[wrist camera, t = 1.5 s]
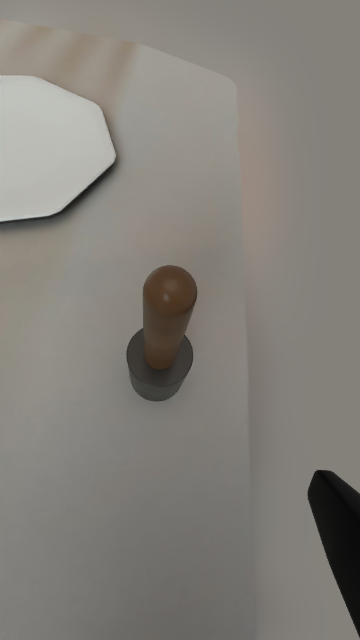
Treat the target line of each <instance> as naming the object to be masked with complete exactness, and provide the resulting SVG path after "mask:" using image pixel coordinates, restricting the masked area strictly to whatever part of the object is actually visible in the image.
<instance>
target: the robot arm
mask: <svg viewBox="0 0 360 640" xmlns="http://www.w3.org/2000/svg"><path fill="white" fill-rule="evenodd" d="M308 500H309V503H310V506H311V509H312V513H313V516H314V519H315V522H316V525H317V528H318V531H319V534H320V537H321V540H322V544H323V546H324V550H325V553H326V556H327V559H328V561H329V564H330V567H331V569H332V572H333V575H334V577H335V579H336V581H337V584H338V587H339V589H340V591H341V594H342V596H343V599H344V601H345V604H346V606H347V608H348V611H349V613H350V616H351V618H352V620H353V623H354V625H355V628H356V630H357V633H358V635H359V637H360V493H358V492H357V491H356V490H354V489H353V488H352V487H351V486H350V485H348V484H347V483H346V482H345V481H343V480H342V479H341V478H340V477H338V476H337V475H336V474H335V473H333V472H332V471H327V470H317V471H316V472H315V473H314V475H313V478H312V480H311V483H310V486H309V489H308Z"/></svg>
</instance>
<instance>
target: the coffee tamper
mask: <svg viewBox="0 0 360 640" xmlns="http://www.w3.org/2000/svg"><path fill="white" fill-rule="evenodd" d="M196 299H197V286H196V283H195V281H194V279H193V277H192V276H191V275H190V274H189V273H188V272H187V271H186V270H184V269H183V268H181V267H178V266H173V265H167V266H162V267H159V268H157V269H155V270H154V271H153V272H152V273H151V274H150V275H149V276H148V277H147V279H146V281H145V284H144V287H143V328H142V329H141V330H139V331H138V332H137V333H136V334H135V335H134V336H133V337H132V339H131V340H130V342H129V345H128V348H127V363H128V368H129V373H130V378H131V383H132V386H133V388H134V389H135V391H136V392H137V393H138V394H139V395H140V396H141V397H143V398H145V399H147V400H150V401H163V400H166V399H168V398H170V397H172V396H173V395H174V394H175V393H176V392H177V391H178V390H179V388H180V386H181V384H182V383H183V381H184V379H185V377H186V375H187V374H188V372H189V370H190V368H191V365H192V361H193V350H192V346H191V344H190V342H189V340H188V338H187V337H186V336H185V332H186V329H187V326H188V323H189V320H190V317H191V314H192V311H193V308H194V305H195V302H196Z"/></svg>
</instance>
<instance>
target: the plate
mask: <svg viewBox="0 0 360 640" xmlns="http://www.w3.org/2000/svg"><path fill="white" fill-rule="evenodd" d="M115 160H116V154H115V150H114V147H113V144H112V141H111V137H110V134H109V131H108V128H107V124H106V121H105V118H104V115H103V111H102V109H101V108H100V107H99V106H98V105H97V104H95V103H93V102H91V101H89V100H87V99H84V98H82V97H80V96H78V95H75V94H73V93H71V92H69V91H67V90H64V89H62V88H60V87H58V86H56V85H53V84H51V83H49V82H47V81H44V80H42V79H40V78H38V77H33V76H0V223H8V222H17V221H25V220H33V219H41V218H49V217H52V216H54V215H57V214H59V213H61V212H62V211H63V210H64V209H66V208H67V207H68V206H69V205H70V204H71V203H72V202H73V201H74V200H75V199H76V198H78V197H79V196H80V195H81V194H82V193H83V192H84V191H85V190H86V189H87V188H89V187H90V186H91V185H92V184H93V183H94V182H95V181H96V180H97V179H98V178H99V177H101V176H102V175H103V174H104V173H105V172H106V171H107V170H108V169H109V168H110V167H112V166H113V165H114V163H115Z"/></svg>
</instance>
